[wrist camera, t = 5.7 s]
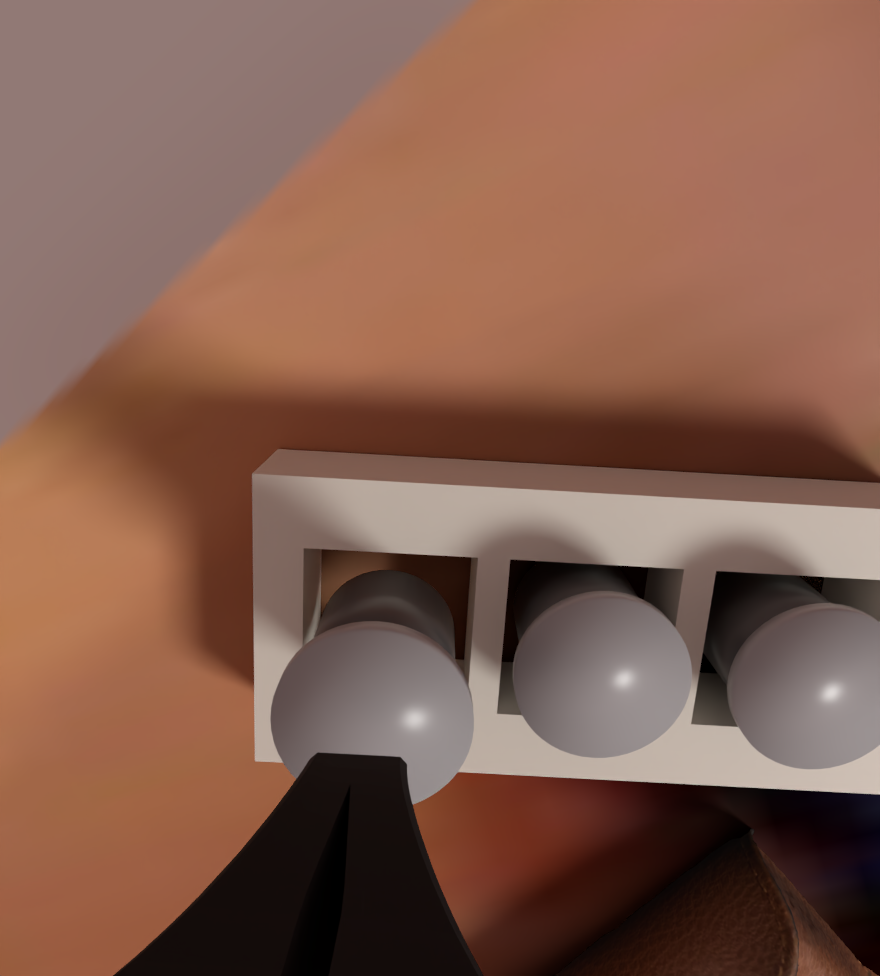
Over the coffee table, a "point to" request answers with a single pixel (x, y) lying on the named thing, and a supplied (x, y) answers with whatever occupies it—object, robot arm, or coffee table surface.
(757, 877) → the sunglasses case
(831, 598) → the knob board
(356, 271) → the coffee table surface
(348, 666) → the knob
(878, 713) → the knob
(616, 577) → the knob middle
